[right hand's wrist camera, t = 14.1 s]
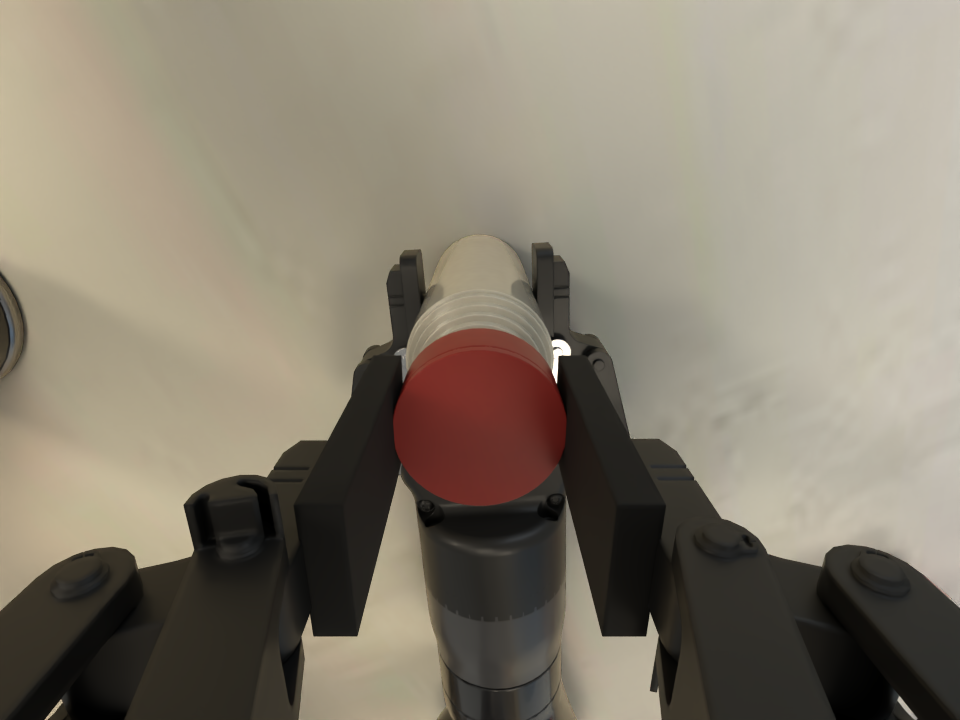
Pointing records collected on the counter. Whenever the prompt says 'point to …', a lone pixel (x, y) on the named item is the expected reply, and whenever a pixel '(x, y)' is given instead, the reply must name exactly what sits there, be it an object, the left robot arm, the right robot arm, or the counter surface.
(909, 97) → the counter surface
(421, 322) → the bottle
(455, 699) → the left robot arm
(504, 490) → the cap
